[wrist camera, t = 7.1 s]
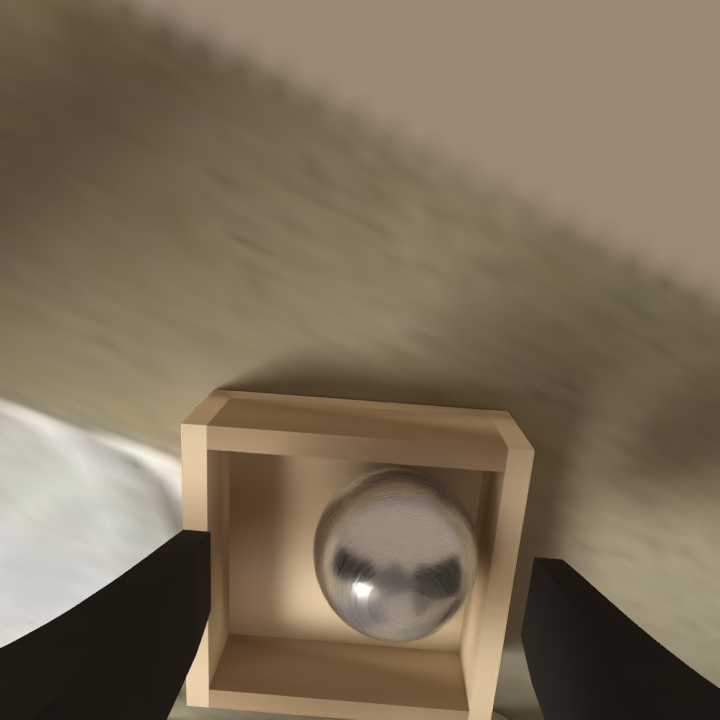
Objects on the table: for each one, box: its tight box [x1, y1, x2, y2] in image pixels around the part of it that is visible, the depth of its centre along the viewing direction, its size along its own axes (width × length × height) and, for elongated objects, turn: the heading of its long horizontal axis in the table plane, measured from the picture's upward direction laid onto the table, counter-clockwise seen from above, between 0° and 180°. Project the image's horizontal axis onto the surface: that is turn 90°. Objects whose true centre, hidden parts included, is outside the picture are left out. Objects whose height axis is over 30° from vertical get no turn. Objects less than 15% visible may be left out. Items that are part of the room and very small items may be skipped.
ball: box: [313, 467, 479, 643], centre depth 13 cm, size 4×4×4 cm
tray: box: [181, 389, 535, 720], centre depth 14 cm, size 8×8×3 cm
